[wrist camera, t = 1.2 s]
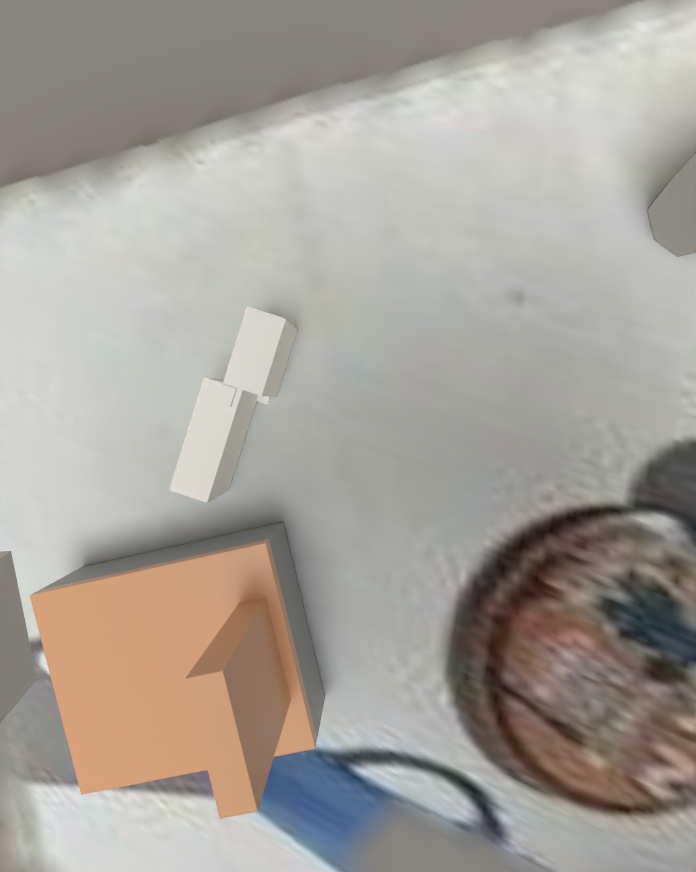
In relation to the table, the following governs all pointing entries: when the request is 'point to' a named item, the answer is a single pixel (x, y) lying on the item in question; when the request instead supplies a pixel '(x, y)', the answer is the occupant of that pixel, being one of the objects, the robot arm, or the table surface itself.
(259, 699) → the tan l-shaped piece
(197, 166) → the table surface
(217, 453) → the white stepped block
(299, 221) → the table surface
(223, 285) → the table surface
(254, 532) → the parts tub
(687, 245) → the low poly bottle
